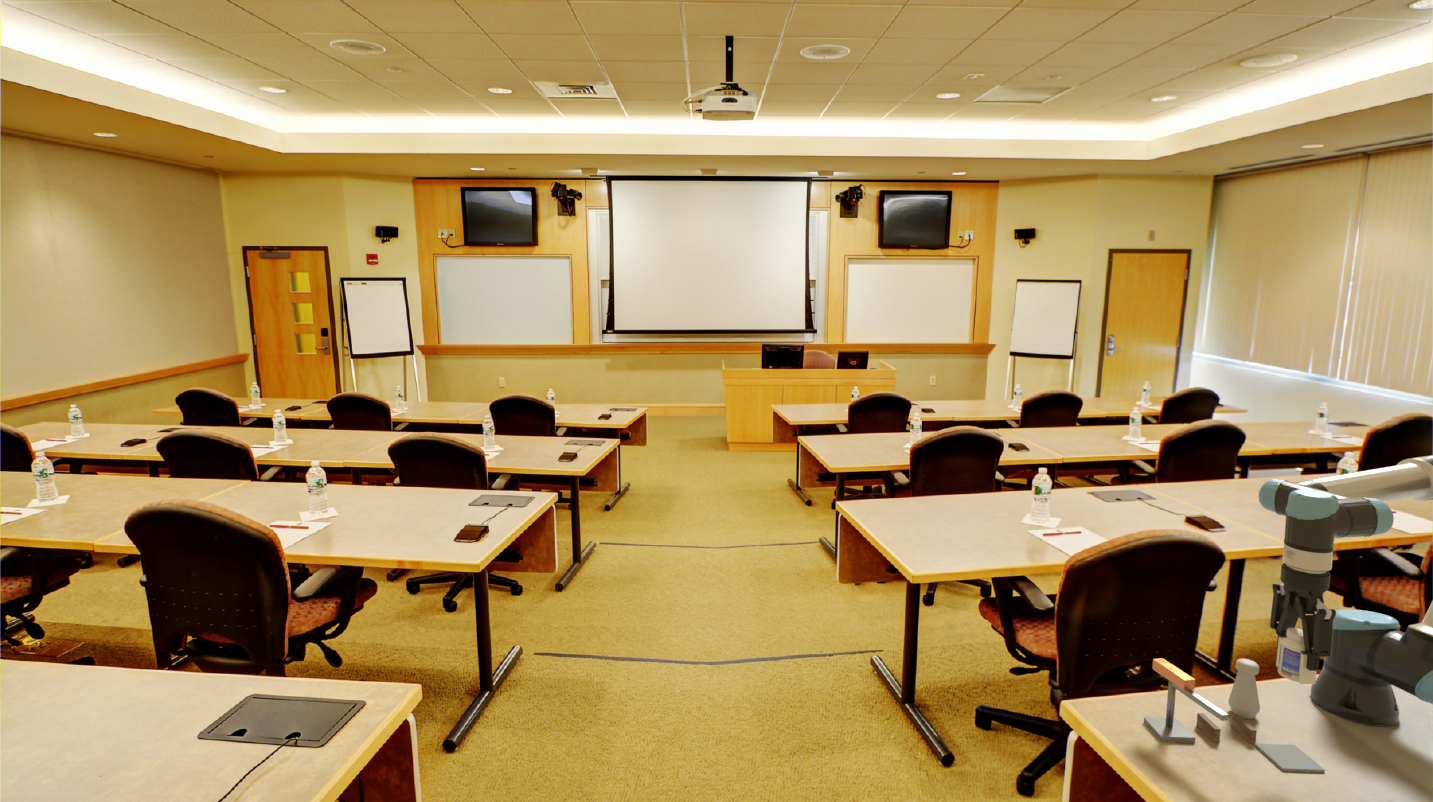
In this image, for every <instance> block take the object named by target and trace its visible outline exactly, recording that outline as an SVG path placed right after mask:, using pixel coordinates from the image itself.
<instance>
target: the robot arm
mask: <svg viewBox="0 0 1433 802" xmlns="http://www.w3.org/2000/svg"><path fill="white" fill-rule="evenodd" d="M1408 499H1411V500H1415V501H1419V502H1423V501H1424V502H1425V501H1432V500H1433V454H1432V455H1431V454H1430V455H1425V456H1423V455H1422V456H1418V457H1411V458H1410V457H1409V458H1406V459H1402V460H1401V461H1399V462H1398V463H1397V464H1396V465H1392V466H1385V467H1379V468H1373V469H1367V470H1362V471H1361V470H1360V471H1356V472H1351V473H1344V474H1338V475H1332V476H1327V477H1321V478H1315V479H1308V480H1303V481H1296V482H1295V481H1292V482H1291V481H1289V480H1286V479H1279V478H1272V479H1269V480H1267V481H1266V482H1264V483H1263V484H1262V486H1260V489H1259V490H1258V501H1259V503H1260V505H1261V507H1262V508H1264V509H1265V510H1267V511H1270V512H1272V513H1275V514H1276V515H1279V516H1284V517H1285V527H1284V538H1283V549H1282V550H1283V551H1282V557H1281V559H1282V560H1281V561H1282V562H1283V564H1281V567H1280V578H1279V579H1280V581H1281V582H1282V583H1272V586H1271V587H1272V593H1273V597H1272V605H1271V611H1270V621H1269V627H1270V628H1271V629H1273V630H1275V633H1276V635H1277V639H1276V641H1277V642H1276V648H1277V650H1276V651H1277V652H1276V653H1277V654H1276V662H1275V667H1277V668H1278V663H1279V655H1280V647H1281V640H1282V639H1283V638H1285V637H1287V636H1286V633H1287V629H1288V628H1296V626H1297V623H1298V619H1300V620H1301V627H1302V630H1303V638H1304V647H1305V651H1301V658H1300V668H1299V678H1298V682H1297V683H1299V684H1301V685H1310V699H1311V700H1312V701H1313V703H1315V704H1316V705H1317V706H1319V708H1321V709H1322V710H1325V711H1327V712H1329V713H1330V714H1332V715H1335V716H1337V717H1340V718H1343V719H1345V720H1348V721H1352V722H1355V723H1359V724H1361V725H1362V724H1364V725H1368V726H1376V727H1390V726H1391V727H1392V726H1394V725H1396V724H1398V723H1399V720H1400V719H1399V718H1400V708H1399V706H1398V703H1397V699H1396V697H1395V692H1394V689H1393V687H1392V686H1394V687H1396V688H1397V689H1400V690H1402V691H1403V692H1405V693H1407V694H1410V695H1412V696H1414V697H1416V698H1418V700H1420V701H1423V702H1425V703H1429V704H1431V705H1433V600H1432V601H1431V602H1430V605H1429V608H1428V609H1427V611H1426V613H1425V615H1424V617H1423V619H1422V621H1421V622H1419V623H1414V624H1410V625H1408V626H1407V629H1406V630H1405V632H1403V631H1400V630H1399V629H1400V628H1401V625H1400V622H1399V621H1398V620H1397V619H1396V618H1394V617H1393V616H1390V615H1387V614H1383V613H1380V612H1375V611H1372V610H1371V611H1369V610H1364V609H1363V610H1362V609H1354V608H1353V609H1349V608H1348V609H1347V608H1346V609H1337V610H1335V609H1333V608H1328V607H1327V606H1326V605H1325V600H1324V593H1325V592H1327V591H1329V589H1330V584H1331V572H1330V571H1331V570H1332V568H1333V556H1334V545H1335V543H1334V542H1335V539H1342V538H1356V537H1357V538H1358V537H1365V538H1368V537H1369V538H1370V537H1372V536H1378V535H1382V534H1385V533H1387V532H1388V531H1389V532H1390V530H1391V528H1392V527H1393V525H1394V520H1395V519H1394V518H1395V517H1394V513H1393V511H1392V509H1391V508H1390V506H1389V505H1388V504H1387V503H1391V502H1397V501H1402V500H1408ZM1312 648H1313V649H1312ZM1320 657H1323V666H1322V669H1321V670H1320V672H1319V674H1318V676H1317V672H1318V671H1319V668H1320V667H1319V666H1320Z"/></svg>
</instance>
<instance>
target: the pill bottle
mask: <svg viewBox="0 0 1433 802" xmlns="http://www.w3.org/2000/svg"><path fill="white" fill-rule="evenodd" d="M1286 636H1287V637H1285V638H1283V639H1282V640H1281V647H1280V655H1279V663H1278V667H1277V673H1278V674H1279V675H1280V676H1281V677H1283V678H1285V679H1287V680H1288V681H1289V680H1290V681H1293V682H1297V683H1299V682H1298V678H1299V668H1300V658H1301V651H1305V647H1304V638H1303V629H1301V628H1296V627H1295V628H1288V629H1287V633H1286ZM1312 649H1313V648H1312Z"/></svg>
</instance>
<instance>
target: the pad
mask: <svg viewBox="0 0 1433 802" xmlns="http://www.w3.org/2000/svg"><path fill="white" fill-rule="evenodd" d="M1254 746H1255V748H1257V750H1258V751H1260V752H1261V753H1262V754H1263V755H1264V756H1266V758H1267V759H1268V760H1270V761H1271V762H1272V763H1273V764H1274V765H1275V766H1276V767H1277V768H1278V769H1280V771H1282V772H1294V773H1295V772H1296V773H1297V772H1301V773H1324V774H1325V772H1326V769H1325V768H1323V766H1322V765H1320V764H1319V763H1318V762H1316V761H1315V760H1313V758H1311V757H1310V756H1309V755H1308V754H1307V753H1306V752H1305V751H1303V750H1302V749H1301V748H1299V747H1298V746H1297V745H1296V744H1286V743H1285V744H1283V743H1282V744H1281V743H1280V744H1279V743H1254Z"/></svg>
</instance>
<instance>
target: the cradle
mask: <svg viewBox="0 0 1433 802" xmlns="http://www.w3.org/2000/svg"><path fill="white" fill-rule="evenodd" d="M1230 721H1231V722H1230V727H1231V728H1232V729H1233V730H1235V731H1236V732H1237V733H1238V734H1239V736H1241V737H1242V738H1243V739H1244V740H1245V741H1247V742H1248V743H1249V744H1257V743H1256V742H1257V729H1256V728H1255V727H1253V726H1252V725H1251V724H1250V723H1249V722H1248V721H1246V719H1245V718H1242V717H1241V716H1239V715H1238V714H1234V713H1231V720H1230ZM1196 727H1198V728H1199V729H1200V730H1201V732H1203V733H1204V734H1205V736H1207V737H1208V738H1209V739H1210V740H1211V741H1212V742H1213V743H1220V741H1221V740H1220V739H1221V731H1222V730H1221V728H1220V727H1219V726H1218V725H1217V724H1215V722H1213V720H1211V719H1210V718H1209V717H1208V716H1207V715H1206V714H1205V713H1203V712H1197V715H1196Z"/></svg>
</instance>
